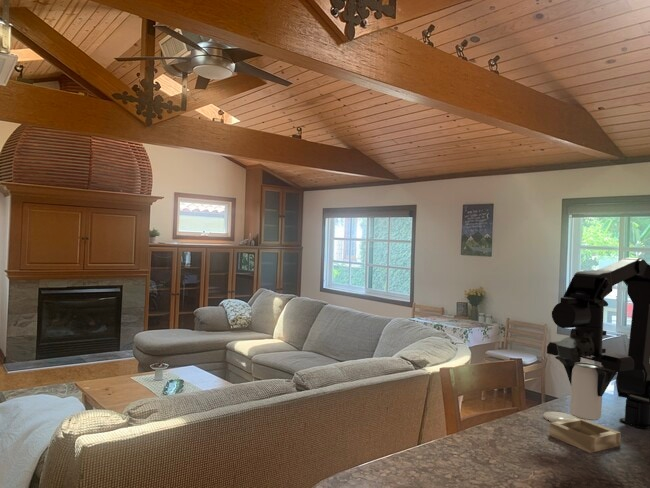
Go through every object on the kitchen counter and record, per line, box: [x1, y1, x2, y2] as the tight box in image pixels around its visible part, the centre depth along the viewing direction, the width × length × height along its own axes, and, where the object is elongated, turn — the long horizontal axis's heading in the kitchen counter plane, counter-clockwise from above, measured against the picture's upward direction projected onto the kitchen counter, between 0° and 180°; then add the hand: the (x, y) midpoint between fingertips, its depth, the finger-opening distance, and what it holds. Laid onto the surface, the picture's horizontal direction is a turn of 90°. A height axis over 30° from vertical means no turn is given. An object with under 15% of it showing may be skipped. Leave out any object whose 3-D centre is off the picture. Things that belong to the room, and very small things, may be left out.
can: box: [569, 361, 603, 421], centre depth 116 cm, size 6×6×12 cm
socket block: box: [549, 417, 622, 454], centre depth 116 cm, size 10×10×3 cm
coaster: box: [543, 411, 577, 423], centre depth 130 cm, size 8×8×1 cm
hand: (586, 391), depth 116 cm, fingers closed on can, 6 cm apart
